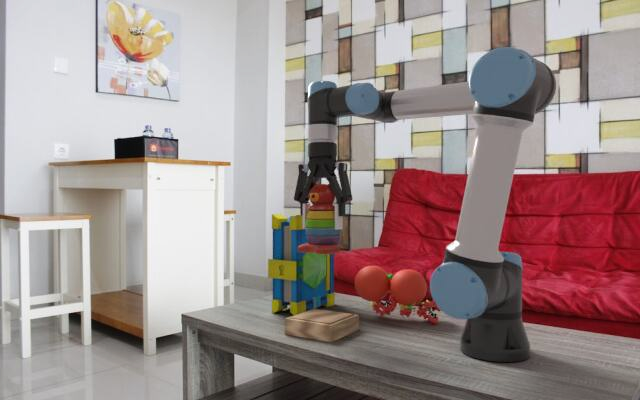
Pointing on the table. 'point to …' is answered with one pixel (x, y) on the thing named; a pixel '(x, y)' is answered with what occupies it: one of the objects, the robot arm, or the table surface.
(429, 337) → the table surface
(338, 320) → the oak stand
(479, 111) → the robot arm
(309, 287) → the decorative book
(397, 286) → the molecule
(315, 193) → the stacking bear
